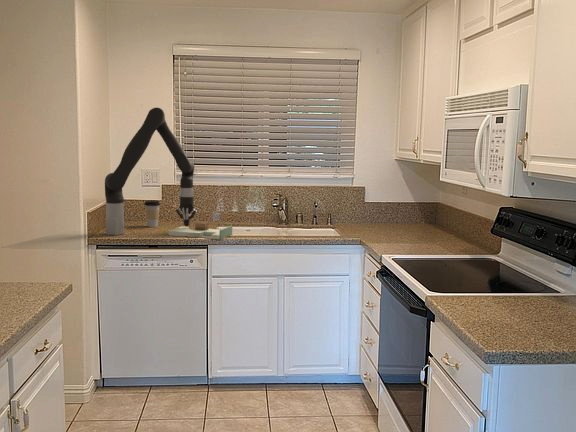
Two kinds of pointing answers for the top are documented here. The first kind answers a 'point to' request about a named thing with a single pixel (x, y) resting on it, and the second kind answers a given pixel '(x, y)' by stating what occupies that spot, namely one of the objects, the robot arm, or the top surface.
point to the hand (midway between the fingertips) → (186, 226)
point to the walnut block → (201, 225)
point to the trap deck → (201, 232)
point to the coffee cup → (152, 213)
